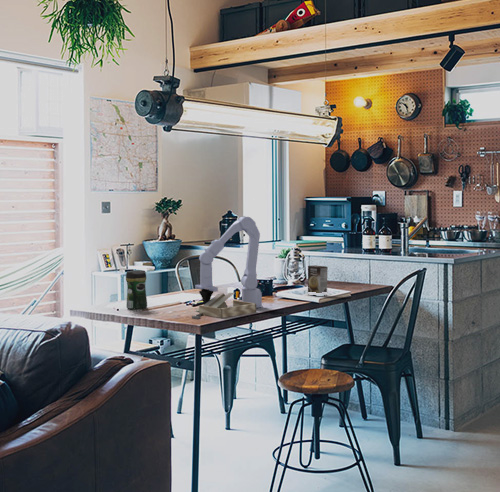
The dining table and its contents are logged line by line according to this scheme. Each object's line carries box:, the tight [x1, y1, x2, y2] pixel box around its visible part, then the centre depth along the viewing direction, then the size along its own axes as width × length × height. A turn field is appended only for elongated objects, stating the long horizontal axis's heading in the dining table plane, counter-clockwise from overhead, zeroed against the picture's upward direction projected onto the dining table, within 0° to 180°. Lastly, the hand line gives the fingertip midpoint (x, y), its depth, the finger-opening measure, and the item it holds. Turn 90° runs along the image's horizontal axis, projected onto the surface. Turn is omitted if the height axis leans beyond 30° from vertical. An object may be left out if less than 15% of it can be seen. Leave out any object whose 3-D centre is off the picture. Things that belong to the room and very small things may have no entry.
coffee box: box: [307, 265, 328, 293], centre depth 373 cm, size 9×6×16 cm
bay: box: [198, 299, 257, 319], centre depth 318 cm, size 22×15×4 cm
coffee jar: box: [125, 269, 148, 310], centre depth 332 cm, size 10×8×19 cm
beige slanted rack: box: [195, 292, 235, 312], centre depth 322 cm, size 16×9×15 cm
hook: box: [191, 313, 204, 320], centre depth 308 cm, size 10×3×1 cm, turn 157°
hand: (206, 305), depth 329 cm, fingers closed
